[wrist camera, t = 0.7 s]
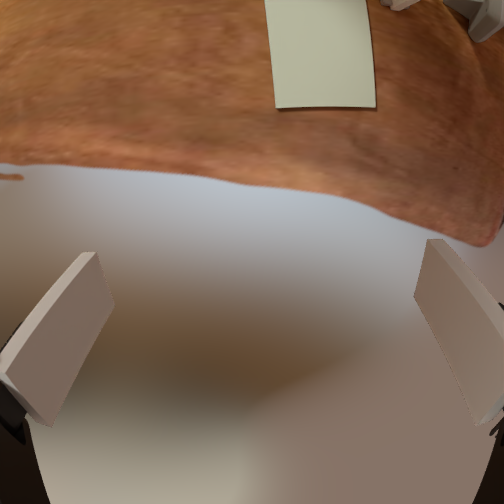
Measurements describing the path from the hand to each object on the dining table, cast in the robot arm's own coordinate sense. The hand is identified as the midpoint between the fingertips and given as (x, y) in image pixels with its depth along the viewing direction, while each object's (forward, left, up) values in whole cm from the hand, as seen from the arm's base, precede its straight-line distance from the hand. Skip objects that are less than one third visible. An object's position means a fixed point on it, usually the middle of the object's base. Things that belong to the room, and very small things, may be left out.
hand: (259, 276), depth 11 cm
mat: (-14, +8, -28) cm, 32 cm away
